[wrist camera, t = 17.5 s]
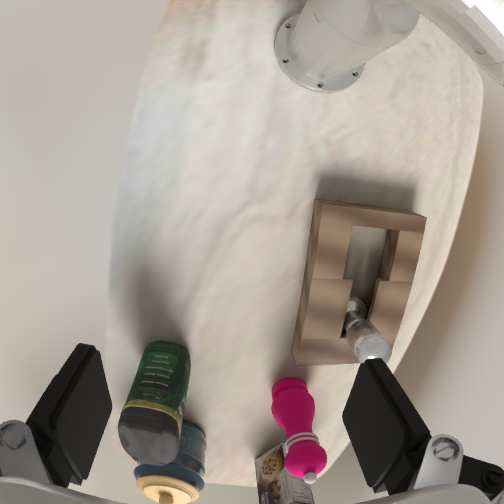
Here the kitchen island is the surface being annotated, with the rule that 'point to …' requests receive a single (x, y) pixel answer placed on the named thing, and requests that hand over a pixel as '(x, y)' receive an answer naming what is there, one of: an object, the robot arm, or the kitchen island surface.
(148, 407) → the coffee jar
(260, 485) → the coffee box
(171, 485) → the canister
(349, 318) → the steel peg
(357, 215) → the keyhole board
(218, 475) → the kitchen island surface
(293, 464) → the pepper mill
